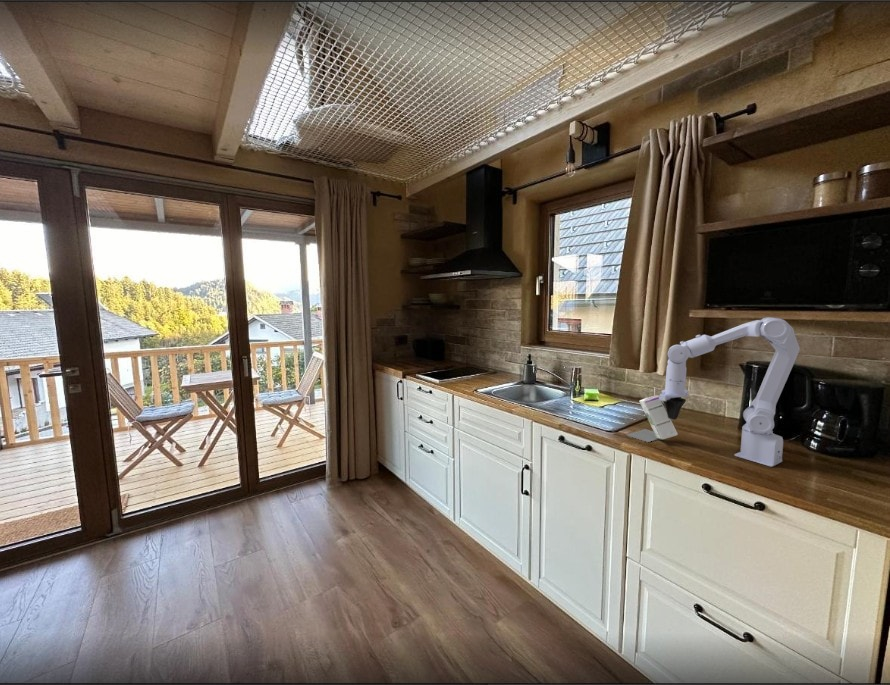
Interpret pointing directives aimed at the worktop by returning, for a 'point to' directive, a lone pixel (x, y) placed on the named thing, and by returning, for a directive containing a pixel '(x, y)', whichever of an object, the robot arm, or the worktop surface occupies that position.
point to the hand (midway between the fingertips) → (672, 418)
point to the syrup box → (658, 417)
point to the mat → (643, 435)
